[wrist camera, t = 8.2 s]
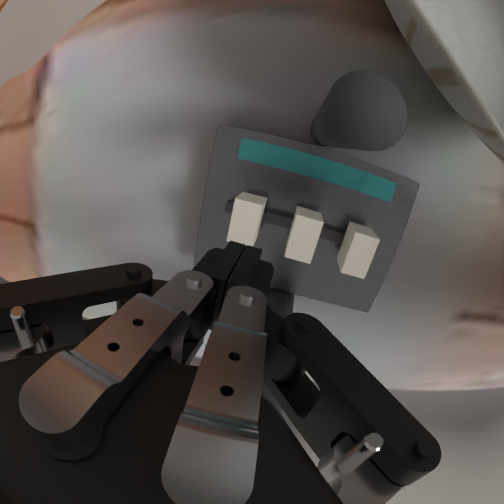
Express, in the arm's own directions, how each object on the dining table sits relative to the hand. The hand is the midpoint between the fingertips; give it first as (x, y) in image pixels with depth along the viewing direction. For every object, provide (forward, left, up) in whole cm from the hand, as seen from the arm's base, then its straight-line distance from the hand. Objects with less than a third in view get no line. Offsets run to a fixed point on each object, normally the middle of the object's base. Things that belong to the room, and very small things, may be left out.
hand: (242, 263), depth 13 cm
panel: (-3, 0, -11) cm, 12 cm away
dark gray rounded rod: (-3, -7, -11) cm, 14 cm away
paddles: (-3, 0, -8) cm, 9 cm away
